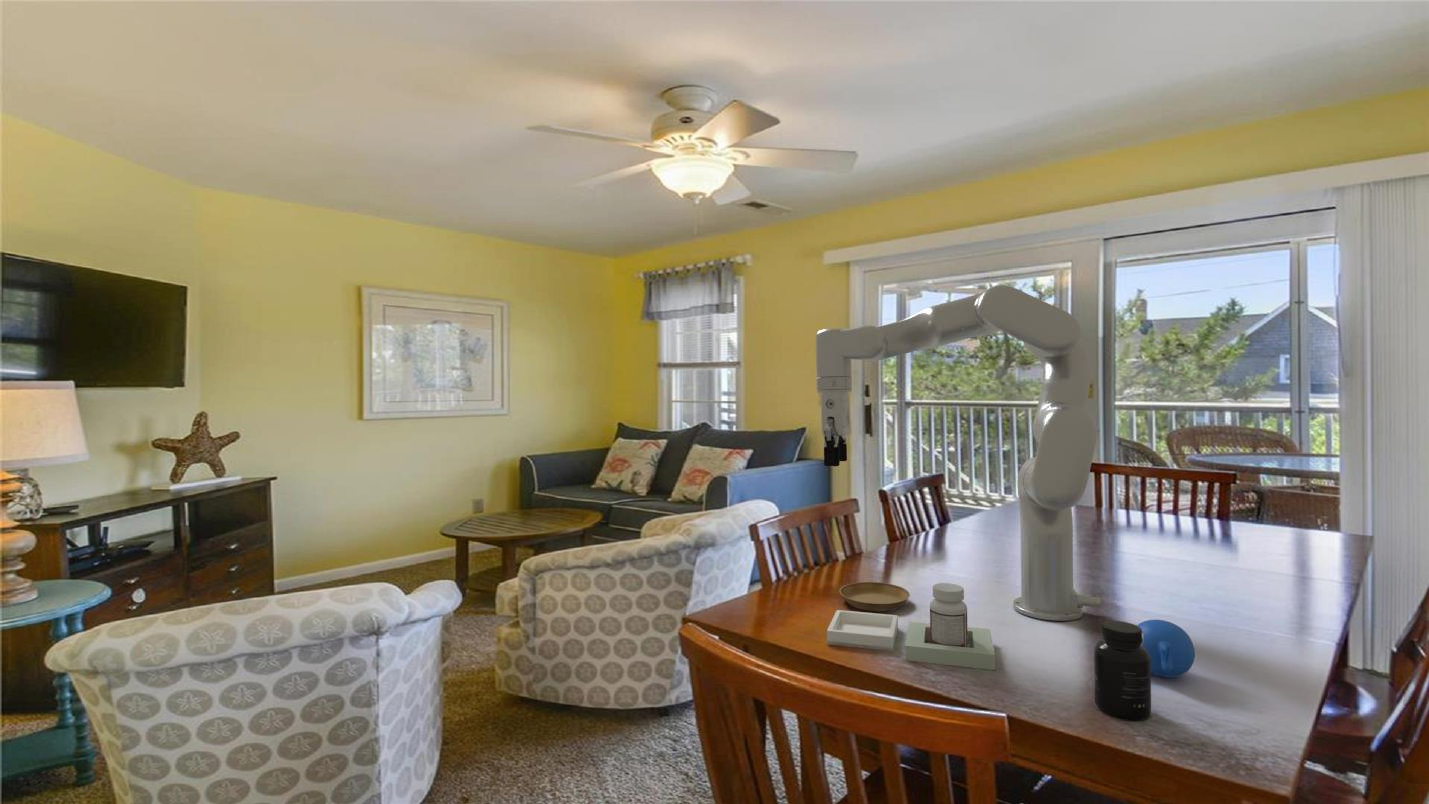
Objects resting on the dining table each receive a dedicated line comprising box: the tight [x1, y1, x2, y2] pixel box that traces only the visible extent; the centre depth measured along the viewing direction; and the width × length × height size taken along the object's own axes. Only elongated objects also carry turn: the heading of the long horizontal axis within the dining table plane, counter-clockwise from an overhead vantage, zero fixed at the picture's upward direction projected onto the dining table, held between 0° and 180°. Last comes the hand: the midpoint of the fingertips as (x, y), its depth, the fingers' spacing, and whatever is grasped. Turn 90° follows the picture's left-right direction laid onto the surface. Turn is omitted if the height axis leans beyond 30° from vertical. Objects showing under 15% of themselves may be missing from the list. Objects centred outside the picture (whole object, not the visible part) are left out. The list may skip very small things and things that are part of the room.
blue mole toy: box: [1136, 619, 1196, 678], centre depth 104 cm, size 12×12×8 cm
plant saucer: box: [839, 581, 911, 612], centre depth 141 cm, size 15×15×3 cm
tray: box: [826, 609, 899, 652], centre depth 122 cm, size 12×12×2 cm
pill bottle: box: [929, 582, 969, 648], centre depth 114 cm, size 6×6×11 cm
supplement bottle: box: [1093, 620, 1152, 722], centre depth 92 cm, size 7×7×12 cm
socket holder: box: [904, 621, 996, 671], centre depth 114 cm, size 14×12×2 cm
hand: (835, 463), depth 144 cm, fingers open, 9 cm apart
